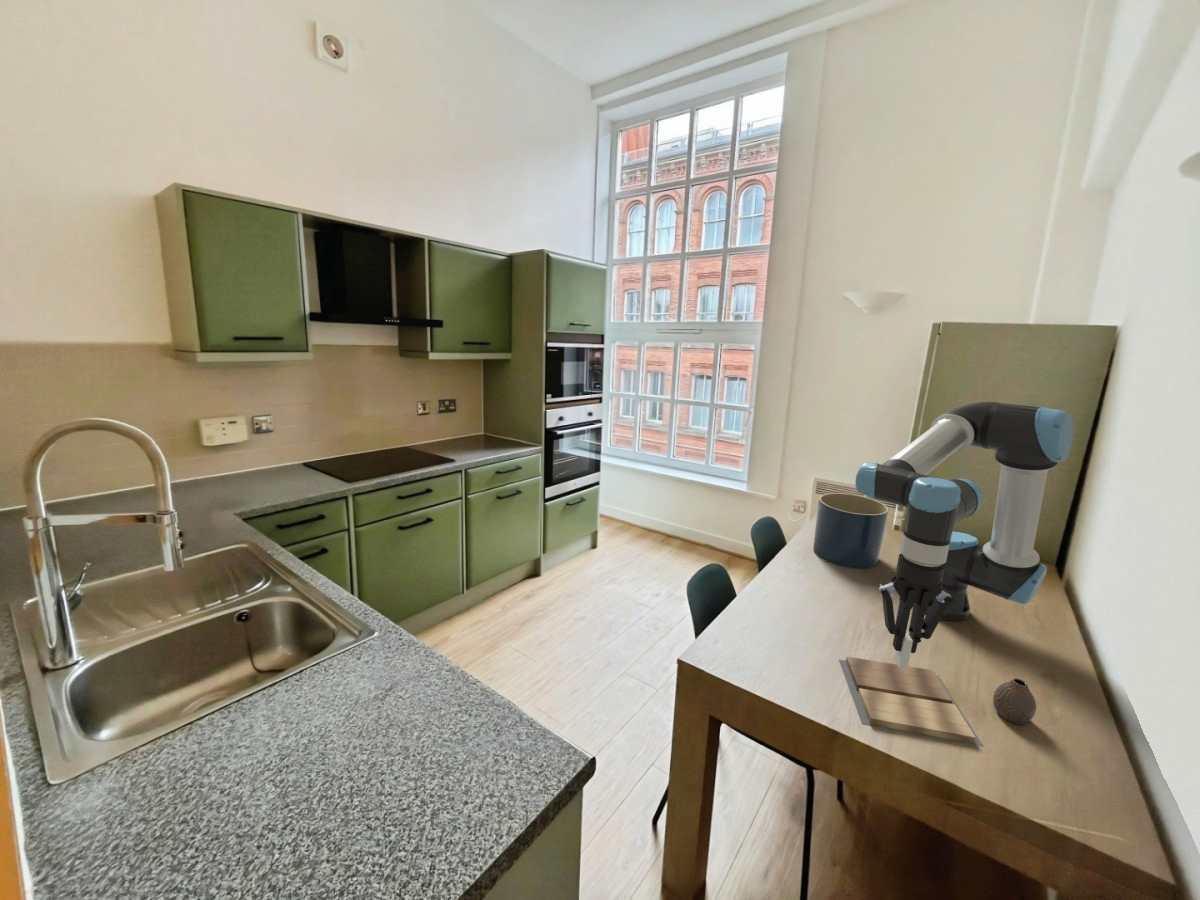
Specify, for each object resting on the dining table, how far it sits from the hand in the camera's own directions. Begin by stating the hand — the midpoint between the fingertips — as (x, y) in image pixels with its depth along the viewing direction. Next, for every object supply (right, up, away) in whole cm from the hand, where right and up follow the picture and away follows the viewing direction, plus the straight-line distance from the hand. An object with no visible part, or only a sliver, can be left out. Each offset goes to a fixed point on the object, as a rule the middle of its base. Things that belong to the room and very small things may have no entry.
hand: (900, 664), depth 100 cm
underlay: (+6, -12, +9) cm, 16 cm away
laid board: (+7, -10, +14) cm, 19 cm away
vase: (+27, -14, +5) cm, 30 cm away
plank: (+5, -13, +4) cm, 14 cm away
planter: (+28, +5, +80) cm, 85 cm away
